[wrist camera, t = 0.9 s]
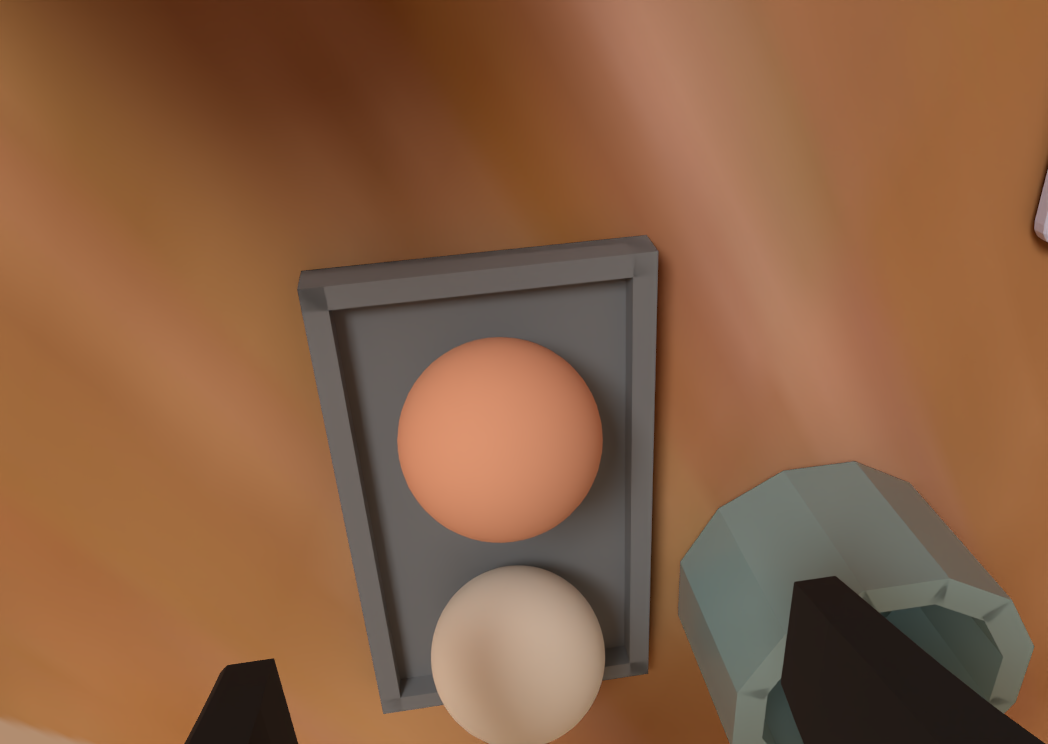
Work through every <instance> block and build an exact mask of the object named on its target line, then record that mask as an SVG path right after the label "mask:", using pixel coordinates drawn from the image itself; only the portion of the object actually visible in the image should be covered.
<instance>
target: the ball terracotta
mask: <svg viewBox="0 0 1048 744" xmlns="http://www.w3.org/2000/svg"><path fill="white" fill-rule="evenodd" d="M397 444H398V455H399V461H400V465H401V469H402V472H403V475H404V477H405V480H406V482H407V485H408V487H409V489H410V490H411V492H412V494H413V495H414V497H415V498H416V500H417V501H418V503H419V504H420V505H421V506H422V507H423V509H424V510H425V511H426V512H427V513H428V514H429V515H430V516H432V517H433V518H434V519H435V520H436V521H437V522H439V523H440V524H441V525H443V526H444V527H446V528H447V529H449V530H451V531H453V532H455V533H457V534H460V535H462V536H465V537H467V538H470V539H474V540H478V541H483V542H491V543H506V542H515V541H520V540H525V539H528V538H532V537H535V536H537V535H540V534H542V533H545V532H546V531H548V530H550V529H552V528H554V527H555V526H557V525H558V524H560V523H561V522H563V521H564V520H565V519H566V518H567V517H568V516H570V515H571V513H572V512H573V511H574V510H575V509H576V508H577V507H578V506H579V505H580V504H581V502H582V501H583V499H584V498H585V497H586V495H587V494H588V492H589V490H590V488H591V486H592V484H593V482H594V480H595V477H596V475H597V472H598V469H599V464H600V460H601V455H602V444H603V437H602V424H601V419H600V415H599V411H598V408H597V404H596V402H595V400H594V397H593V395H592V393H591V391H590V390H589V388H588V386H587V385H586V383H585V381H584V380H583V378H582V377H581V376H580V375H579V374H578V373H577V371H576V370H575V369H574V368H573V367H572V366H571V365H570V364H569V363H568V362H567V361H565V360H564V359H563V358H562V357H560V356H559V355H557V354H556V353H554V352H553V351H551V350H549V349H547V348H545V347H543V346H541V345H539V344H536V343H533V342H530V341H527V340H522V339H517V338H508V337H491V338H483V339H478V340H474V341H471V342H467V343H464V344H462V345H460V346H457V347H455V348H453V349H451V350H450V351H448V352H446V353H445V354H443V355H441V356H440V357H439V358H437V359H436V360H435V361H433V362H432V363H431V364H430V365H429V366H428V367H427V368H426V369H425V370H424V371H423V373H422V374H421V375H420V377H419V378H418V379H417V380H416V382H415V383H414V385H413V386H412V388H411V390H410V392H409V393H408V396H407V398H406V400H405V403H404V405H403V408H402V411H401V415H400V419H399V426H398V437H397Z"/></svg>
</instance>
